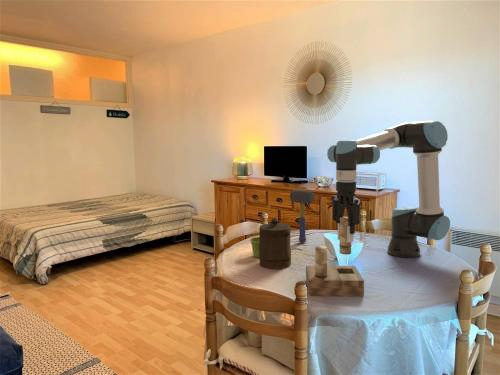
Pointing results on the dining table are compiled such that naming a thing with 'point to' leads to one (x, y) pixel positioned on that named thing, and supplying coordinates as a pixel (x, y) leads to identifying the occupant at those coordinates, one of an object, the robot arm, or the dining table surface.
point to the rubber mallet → (302, 208)
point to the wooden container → (275, 245)
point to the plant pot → (255, 246)
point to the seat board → (332, 278)
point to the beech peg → (344, 236)
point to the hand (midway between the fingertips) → (345, 240)
